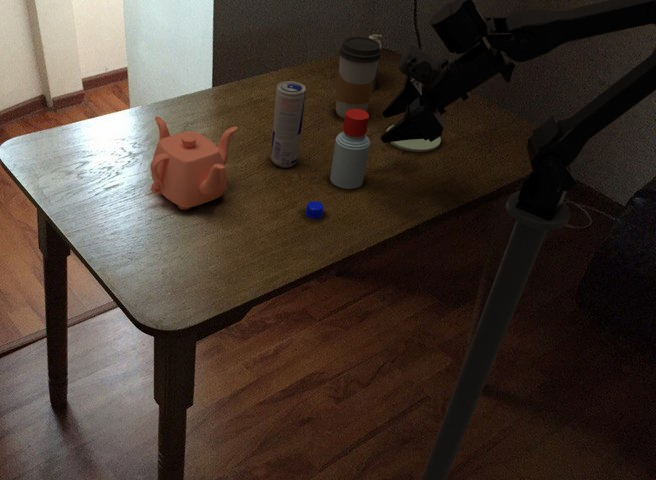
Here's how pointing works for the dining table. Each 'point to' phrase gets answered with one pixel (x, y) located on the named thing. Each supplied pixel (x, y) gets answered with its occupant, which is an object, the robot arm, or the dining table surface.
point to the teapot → (189, 166)
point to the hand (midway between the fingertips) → (382, 127)
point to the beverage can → (287, 123)
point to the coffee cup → (356, 73)
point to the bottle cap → (315, 210)
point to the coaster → (417, 144)
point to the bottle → (349, 161)
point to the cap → (355, 123)
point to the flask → (376, 37)
